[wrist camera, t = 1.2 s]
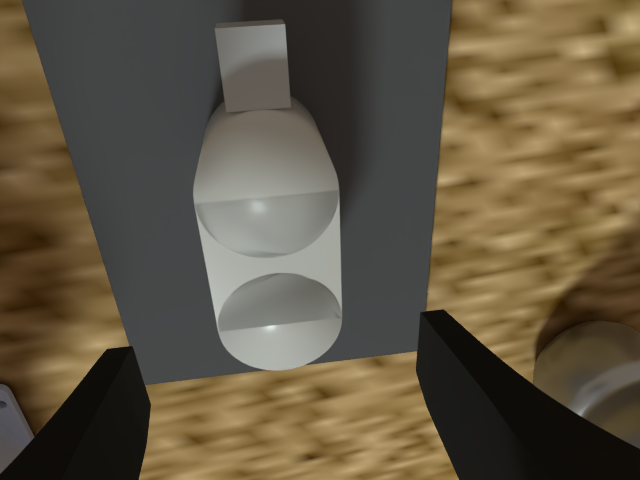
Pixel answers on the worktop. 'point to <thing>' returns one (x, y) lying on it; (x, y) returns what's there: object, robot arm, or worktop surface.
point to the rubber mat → (186, 142)
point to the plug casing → (268, 208)
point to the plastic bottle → (595, 375)
